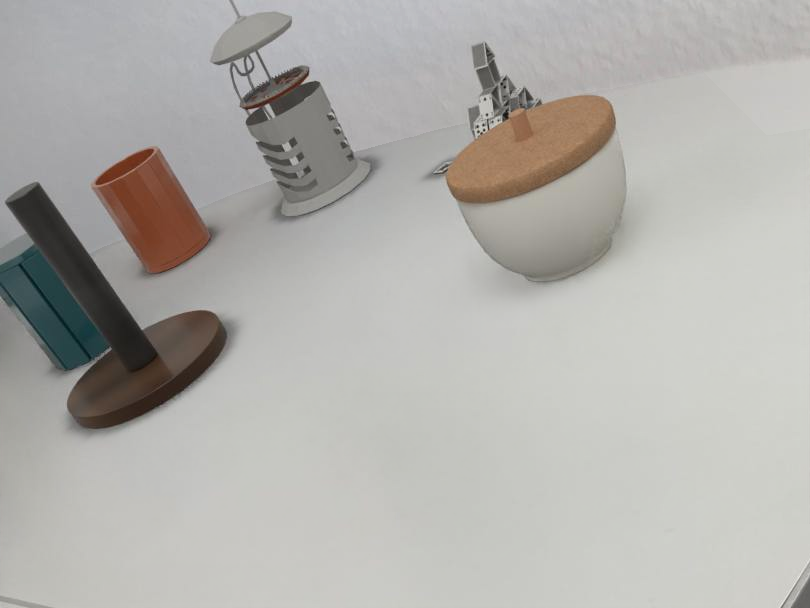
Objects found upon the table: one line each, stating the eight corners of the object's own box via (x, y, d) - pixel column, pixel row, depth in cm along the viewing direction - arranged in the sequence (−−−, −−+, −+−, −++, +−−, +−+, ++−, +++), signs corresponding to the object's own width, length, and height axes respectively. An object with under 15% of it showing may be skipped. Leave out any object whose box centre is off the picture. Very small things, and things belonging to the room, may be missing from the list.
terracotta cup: (135, 272, 101) (79, 188, 95) (188, 232, 104) (136, 147, 98) (168, 275, 96) (111, 186, 90) (223, 232, 99) (171, 143, 93)
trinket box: (606, 196, 69) (563, 55, 62) (676, 238, 60) (633, 80, 54) (471, 272, 69) (414, 139, 63) (522, 324, 61) (462, 176, 55)
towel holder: (51, 415, 82) (-89, 246, 72) (175, 317, 87) (60, 144, 77) (122, 441, 73) (-27, 249, 63) (257, 329, 77) (138, 133, 67)
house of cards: (469, 127, 91) (435, 39, 86) (553, 103, 86) (523, 8, 81) (431, 176, 86) (392, 85, 81) (518, 153, 81) (483, 55, 76)
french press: (310, 220, 91) (147, -91, 74) (256, 212, 99) (99, -69, 83) (389, 162, 93) (248, -151, 77) (330, 159, 101) (192, -124, 85)
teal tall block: (48, 366, 91) (-29, 268, 85) (100, 325, 94) (29, 227, 87) (75, 373, 87) (-4, 271, 81) (130, 330, 89) (57, 227, 83)
